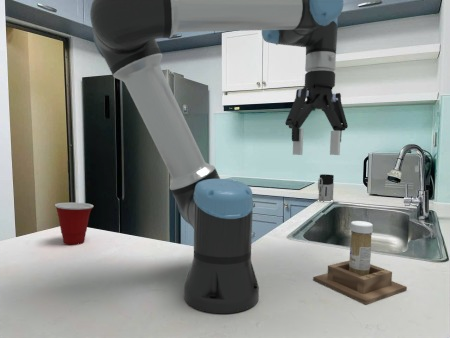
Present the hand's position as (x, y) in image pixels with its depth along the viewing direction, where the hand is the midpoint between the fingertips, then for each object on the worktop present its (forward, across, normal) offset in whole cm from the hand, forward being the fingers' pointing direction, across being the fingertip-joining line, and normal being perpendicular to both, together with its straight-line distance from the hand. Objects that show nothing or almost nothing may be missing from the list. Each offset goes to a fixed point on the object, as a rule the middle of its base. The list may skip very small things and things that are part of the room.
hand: (316, 154), depth 91 cm
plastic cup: (+29, -52, +48) cm, 76 cm away
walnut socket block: (+29, -2, -16) cm, 33 cm away
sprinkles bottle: (+28, -2, -16) cm, 32 cm away
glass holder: (+29, +80, +69) cm, 109 cm away
